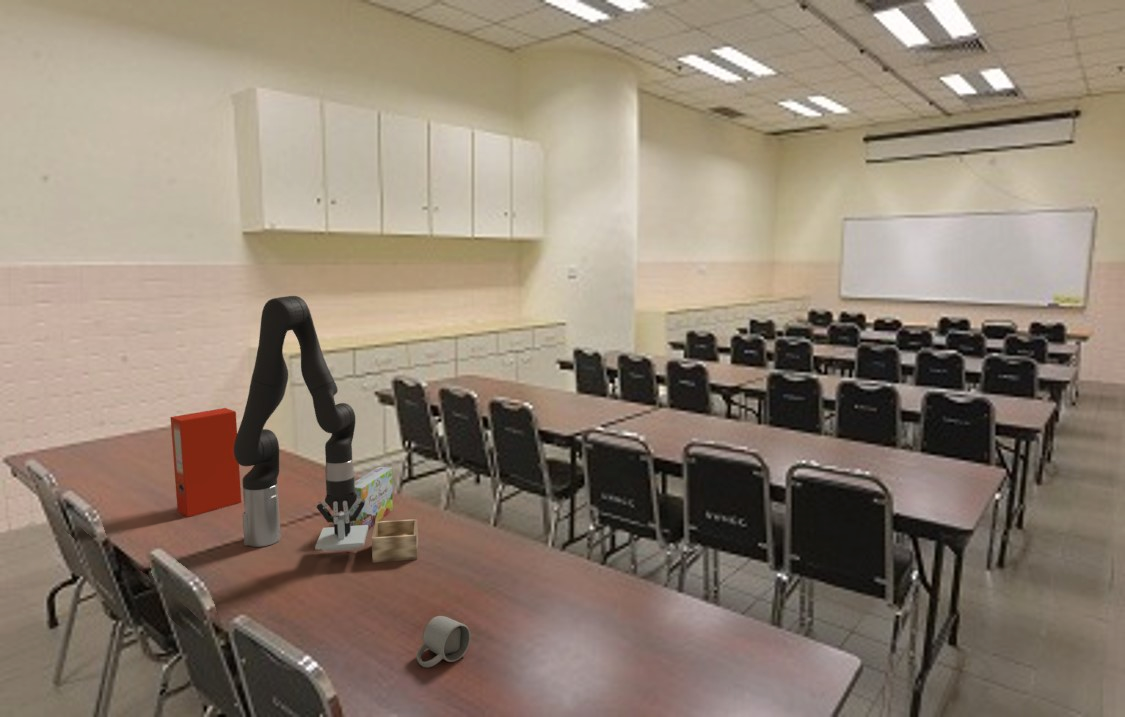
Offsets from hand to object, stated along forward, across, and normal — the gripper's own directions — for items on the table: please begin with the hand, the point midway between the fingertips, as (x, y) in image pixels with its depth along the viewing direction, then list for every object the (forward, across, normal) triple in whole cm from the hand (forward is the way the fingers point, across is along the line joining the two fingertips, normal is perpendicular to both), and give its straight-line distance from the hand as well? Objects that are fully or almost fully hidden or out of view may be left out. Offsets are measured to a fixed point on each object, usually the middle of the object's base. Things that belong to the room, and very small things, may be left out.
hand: (342, 534), depth 188 cm
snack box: (+6, +5, +24) cm, 26 cm away
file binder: (+6, -49, +45) cm, 67 cm away
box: (+6, +14, 0) cm, 16 cm away
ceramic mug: (+7, +27, -53) cm, 60 cm away
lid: (+2, 0, 0) cm, 2 cm away
